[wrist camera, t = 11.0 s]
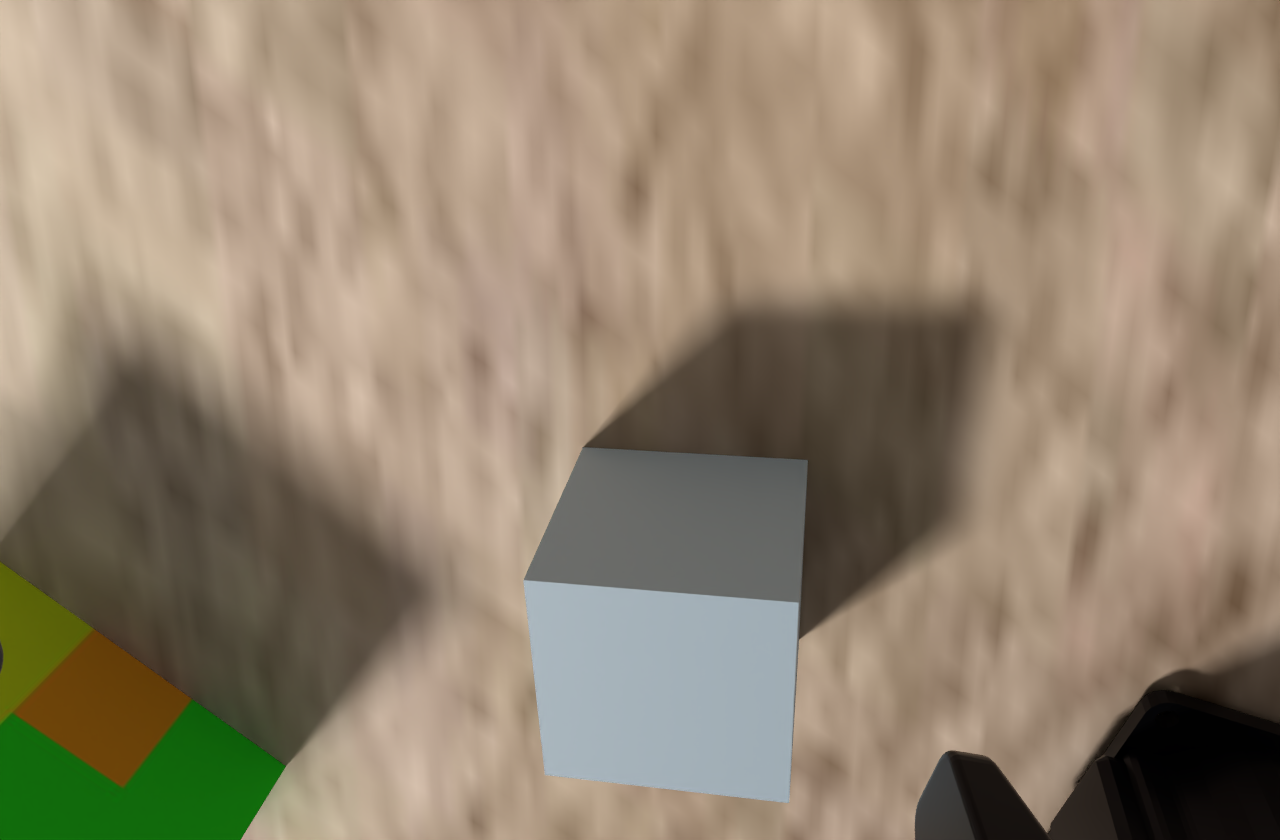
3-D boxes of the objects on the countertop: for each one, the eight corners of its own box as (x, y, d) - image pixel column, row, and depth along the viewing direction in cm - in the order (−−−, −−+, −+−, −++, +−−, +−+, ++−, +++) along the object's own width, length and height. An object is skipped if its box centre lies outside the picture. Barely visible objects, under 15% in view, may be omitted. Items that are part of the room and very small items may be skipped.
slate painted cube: (807, 458, 22) (798, 602, 18) (799, 637, 25) (788, 802, 20) (583, 445, 23) (523, 580, 19) (596, 619, 25) (545, 774, 21)
